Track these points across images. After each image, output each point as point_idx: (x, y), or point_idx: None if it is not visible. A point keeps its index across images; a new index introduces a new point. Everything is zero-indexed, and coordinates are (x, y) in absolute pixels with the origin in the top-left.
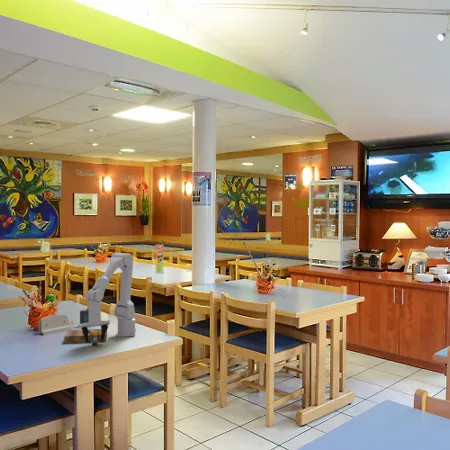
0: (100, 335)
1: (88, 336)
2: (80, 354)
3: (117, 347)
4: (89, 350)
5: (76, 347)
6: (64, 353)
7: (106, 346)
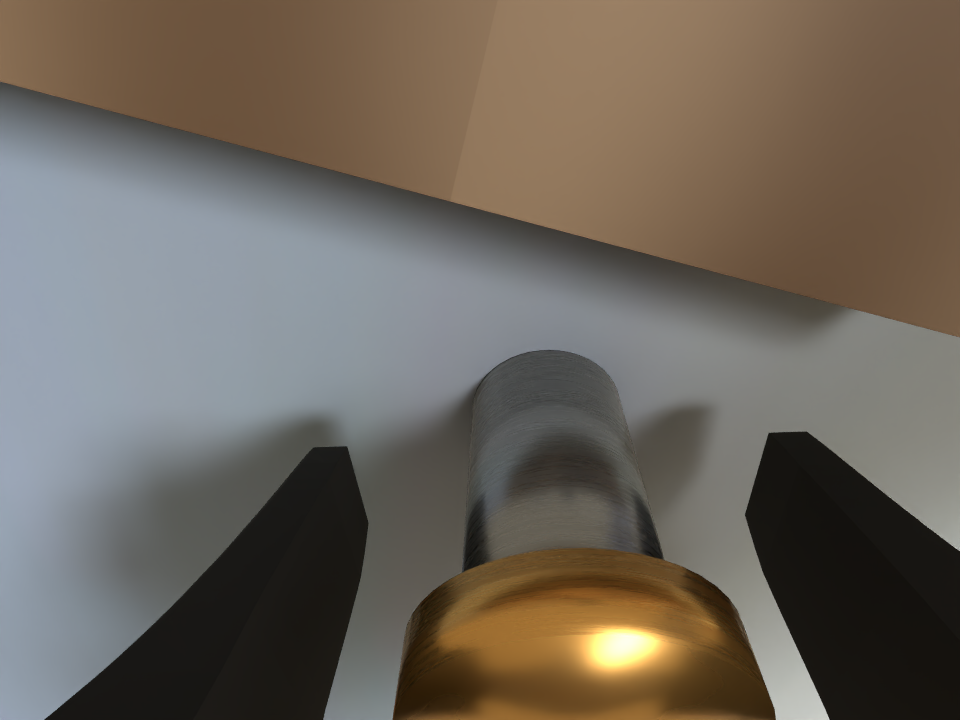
0: (901, 313)
1: (403, 169)
2: None
3: None
4: (393, 625)
5: (138, 427)
6: (11, 612)
7: (719, 566)
